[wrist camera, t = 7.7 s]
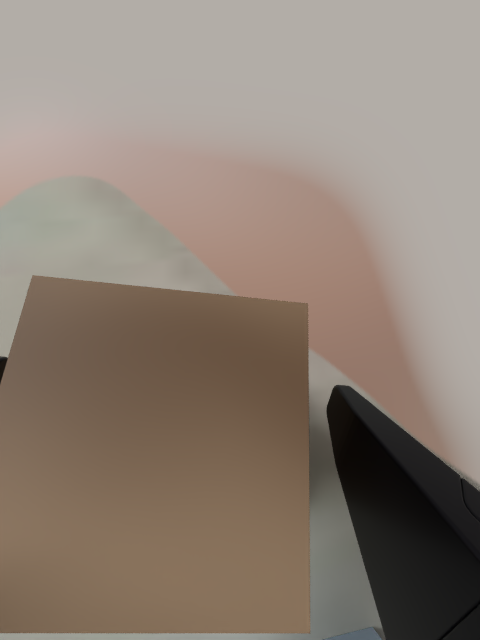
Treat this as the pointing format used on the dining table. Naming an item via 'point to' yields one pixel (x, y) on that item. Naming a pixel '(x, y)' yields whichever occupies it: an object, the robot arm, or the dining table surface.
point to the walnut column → (154, 463)
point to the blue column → (358, 635)
